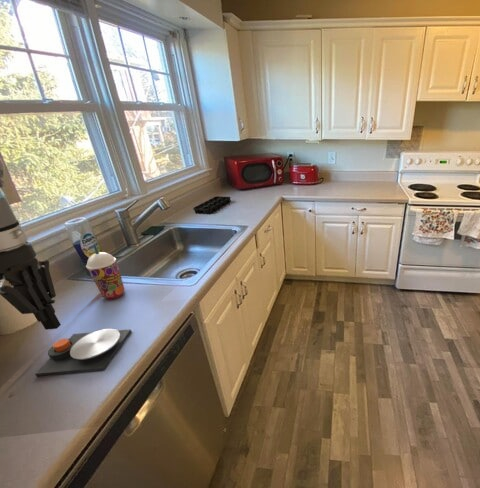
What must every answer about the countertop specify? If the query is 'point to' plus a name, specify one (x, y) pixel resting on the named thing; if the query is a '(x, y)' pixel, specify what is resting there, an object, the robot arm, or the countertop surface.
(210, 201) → the egg carton
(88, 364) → the scale
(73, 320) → the countertop surface
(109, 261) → the smoothie
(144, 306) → the countertop surface
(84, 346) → the platter
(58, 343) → the tare button
